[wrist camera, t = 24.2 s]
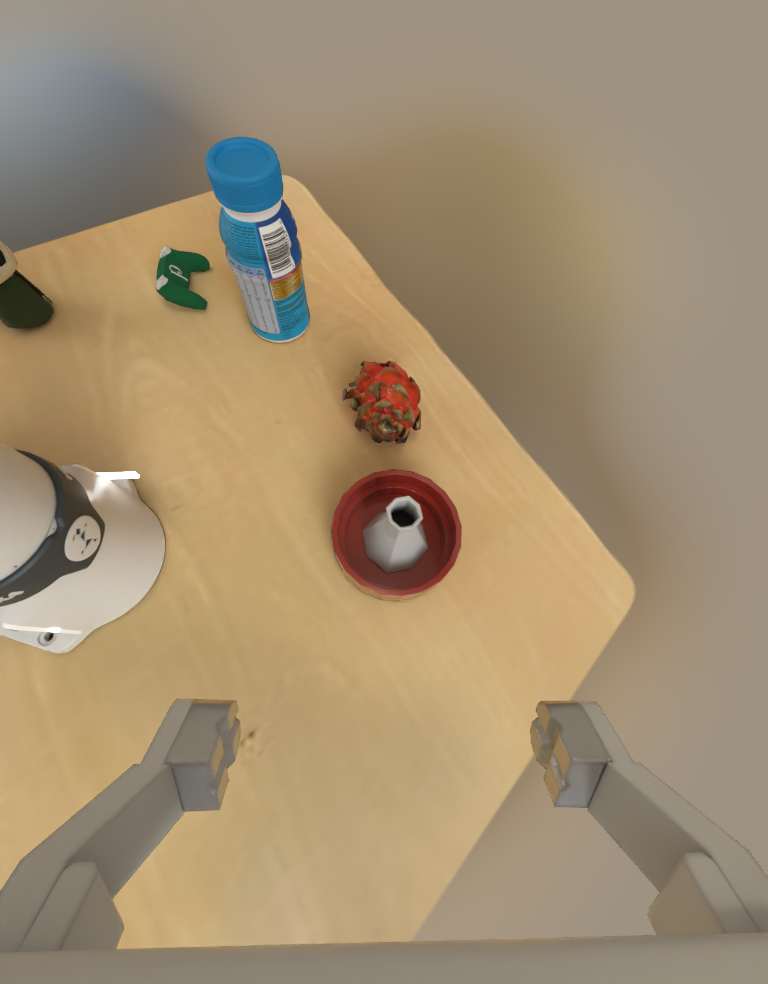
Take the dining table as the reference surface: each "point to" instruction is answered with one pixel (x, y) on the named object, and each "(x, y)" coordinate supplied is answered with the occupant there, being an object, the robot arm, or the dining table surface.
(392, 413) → the dragon fruit
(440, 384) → the dining table surface
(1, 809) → the dining table surface
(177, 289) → the gaming controller
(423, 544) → the flask
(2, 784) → the dining table surface
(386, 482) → the bowl
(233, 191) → the beverage bottle
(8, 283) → the character mug
